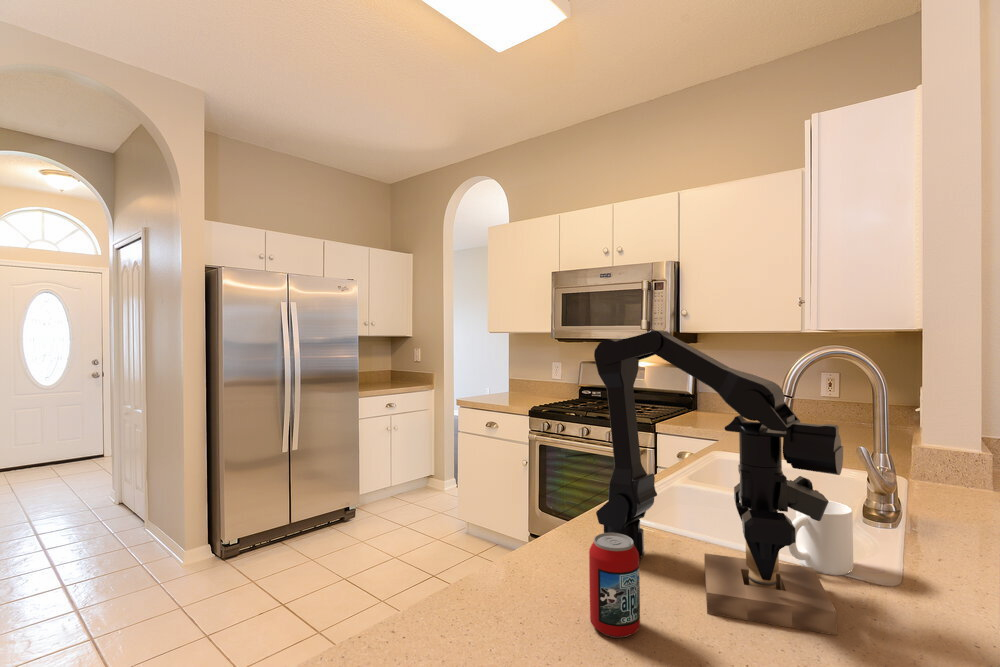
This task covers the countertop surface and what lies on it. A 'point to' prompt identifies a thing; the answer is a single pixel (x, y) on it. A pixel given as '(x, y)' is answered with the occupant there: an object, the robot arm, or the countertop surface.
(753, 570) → the peg
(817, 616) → the board
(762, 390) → the robot arm
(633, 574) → the beverage can
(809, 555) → the mug
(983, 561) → the countertop surface
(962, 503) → the countertop surface
